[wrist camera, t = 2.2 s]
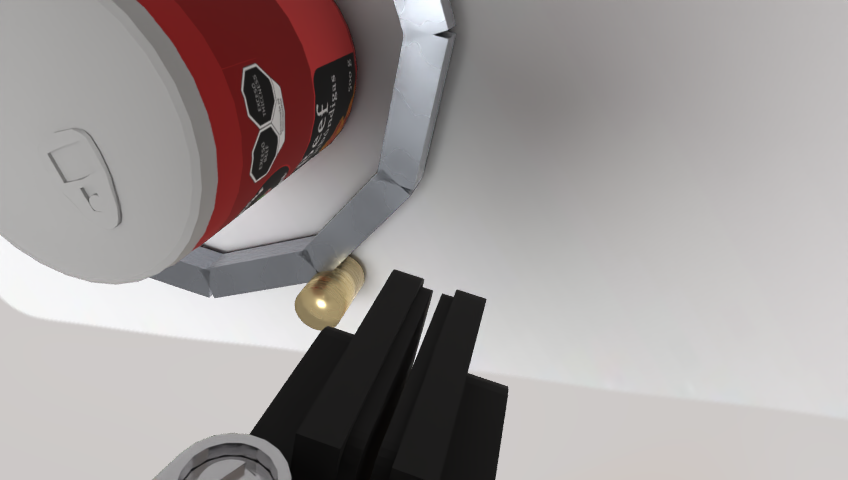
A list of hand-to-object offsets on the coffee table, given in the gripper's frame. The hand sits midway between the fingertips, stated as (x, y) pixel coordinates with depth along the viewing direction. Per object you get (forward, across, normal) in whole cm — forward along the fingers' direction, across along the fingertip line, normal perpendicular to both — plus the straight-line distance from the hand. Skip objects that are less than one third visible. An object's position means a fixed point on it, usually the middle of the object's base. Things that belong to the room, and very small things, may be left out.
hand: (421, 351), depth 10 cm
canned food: (+13, +10, -1) cm, 17 cm away
